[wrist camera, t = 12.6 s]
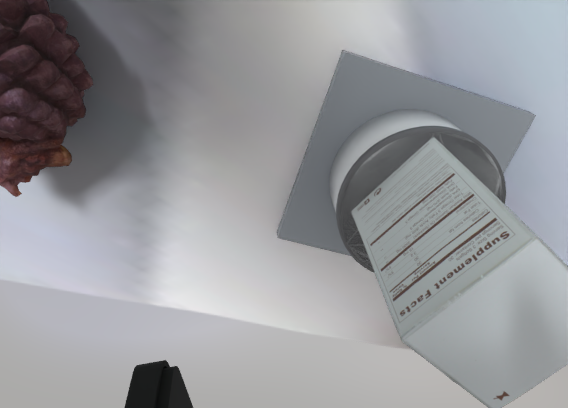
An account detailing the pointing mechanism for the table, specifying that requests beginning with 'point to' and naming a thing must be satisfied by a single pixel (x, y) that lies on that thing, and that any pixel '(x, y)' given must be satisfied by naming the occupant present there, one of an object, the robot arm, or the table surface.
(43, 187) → the table surface
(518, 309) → the supplement box
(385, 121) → the duct stub
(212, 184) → the table surface
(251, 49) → the table surface
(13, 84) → the pine cone
